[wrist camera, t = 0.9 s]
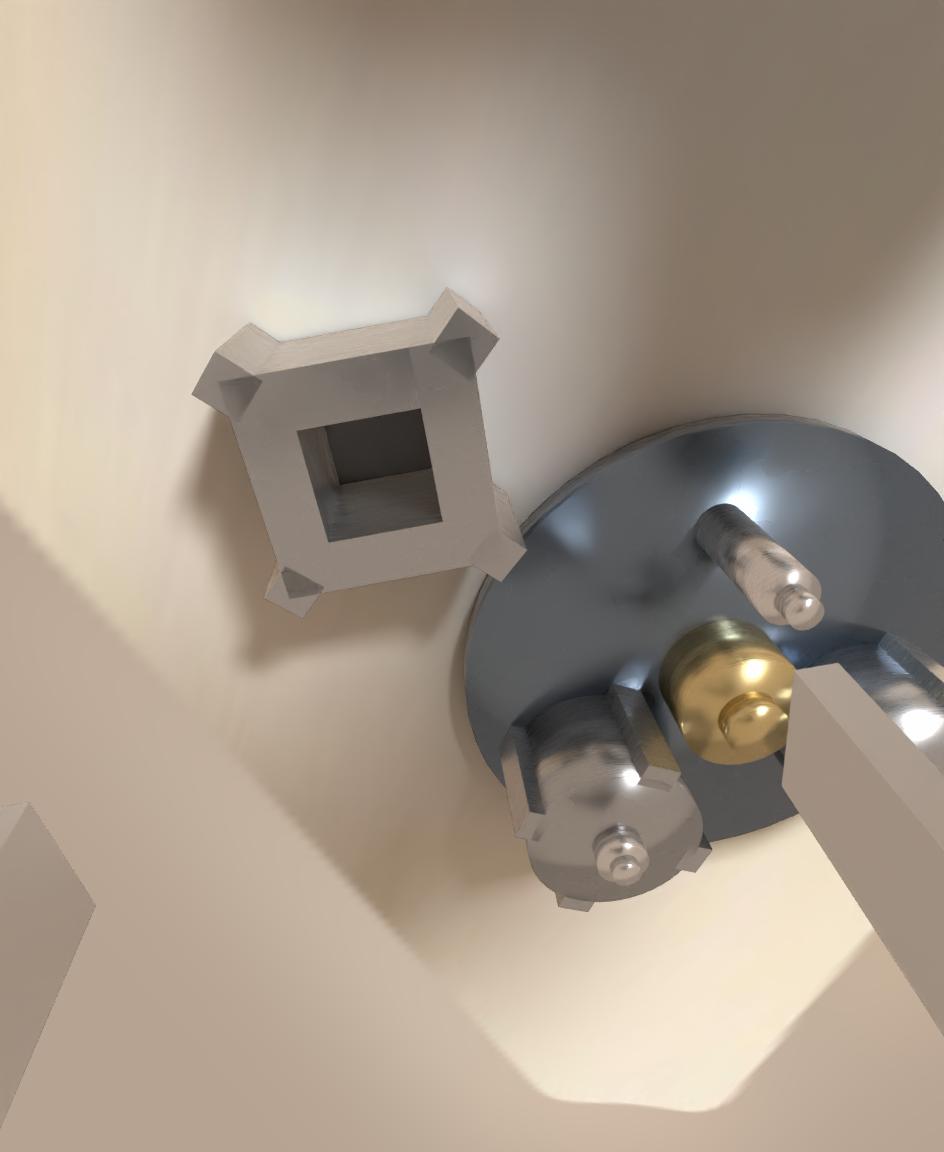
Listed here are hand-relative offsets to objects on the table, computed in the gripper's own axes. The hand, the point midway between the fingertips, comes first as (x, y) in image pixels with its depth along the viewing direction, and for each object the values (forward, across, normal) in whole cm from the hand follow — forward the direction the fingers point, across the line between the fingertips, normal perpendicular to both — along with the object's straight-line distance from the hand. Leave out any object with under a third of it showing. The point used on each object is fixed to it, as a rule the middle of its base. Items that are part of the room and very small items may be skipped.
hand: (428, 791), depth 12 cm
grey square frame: (+16, -1, +2) cm, 16 cm away
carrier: (+16, +12, -11) cm, 22 cm away
